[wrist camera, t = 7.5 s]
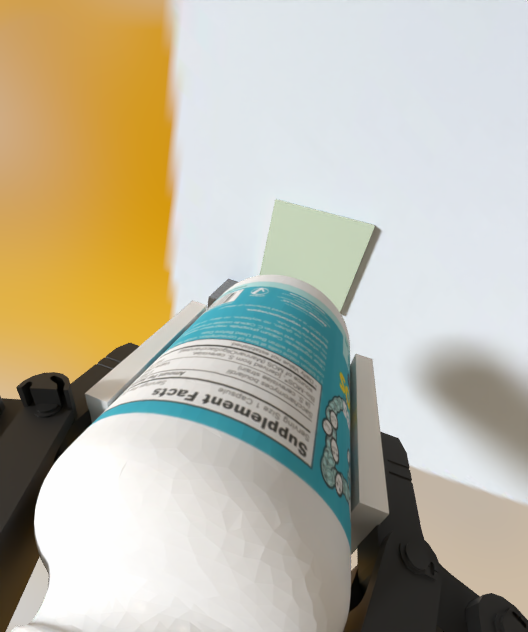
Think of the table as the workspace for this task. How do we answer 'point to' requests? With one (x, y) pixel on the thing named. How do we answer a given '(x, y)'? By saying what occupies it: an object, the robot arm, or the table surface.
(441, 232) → the table surface
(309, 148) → the table surface
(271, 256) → the pad
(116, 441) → the pill bottle
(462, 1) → the table surface
